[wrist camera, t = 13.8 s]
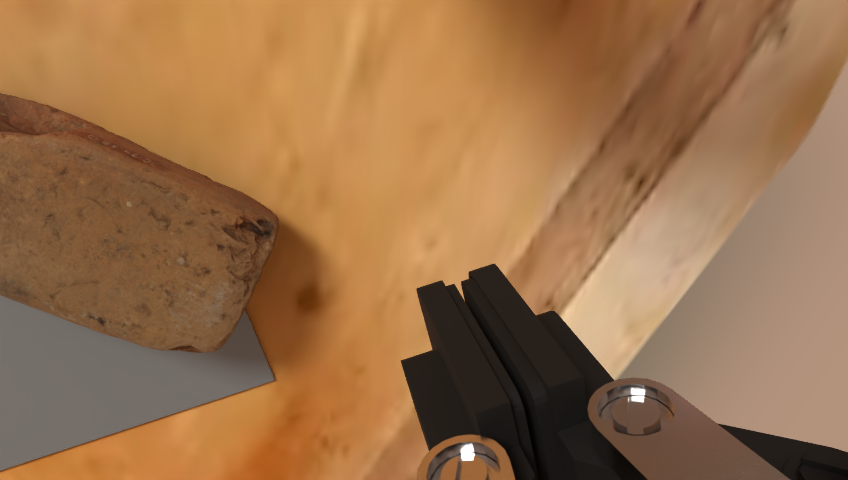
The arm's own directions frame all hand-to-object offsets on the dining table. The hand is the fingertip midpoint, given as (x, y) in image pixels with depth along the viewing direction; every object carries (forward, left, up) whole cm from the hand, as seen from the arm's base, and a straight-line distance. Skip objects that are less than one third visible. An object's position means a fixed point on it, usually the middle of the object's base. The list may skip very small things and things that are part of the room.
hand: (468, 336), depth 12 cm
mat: (+22, +13, -31) cm, 40 cm away
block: (+9, +10, -27) cm, 30 cm away
